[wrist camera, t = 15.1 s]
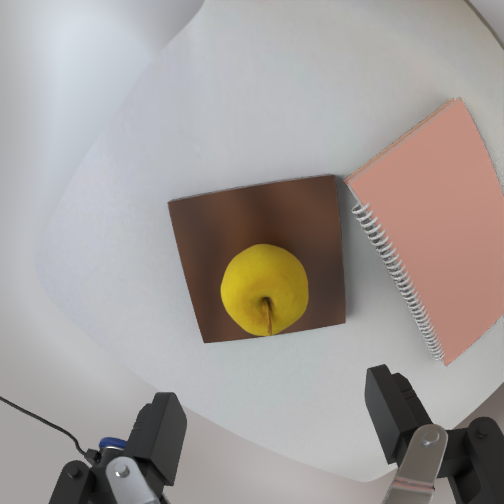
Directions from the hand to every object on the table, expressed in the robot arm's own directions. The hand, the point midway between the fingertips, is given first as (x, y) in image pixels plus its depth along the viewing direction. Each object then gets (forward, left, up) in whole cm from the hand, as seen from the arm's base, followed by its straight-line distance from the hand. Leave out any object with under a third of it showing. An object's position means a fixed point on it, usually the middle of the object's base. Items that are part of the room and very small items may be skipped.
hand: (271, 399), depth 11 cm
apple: (0, 0, -15) cm, 15 cm away
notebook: (+21, -2, -17) cm, 27 cm away
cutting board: (0, 0, -16) cm, 16 cm away
